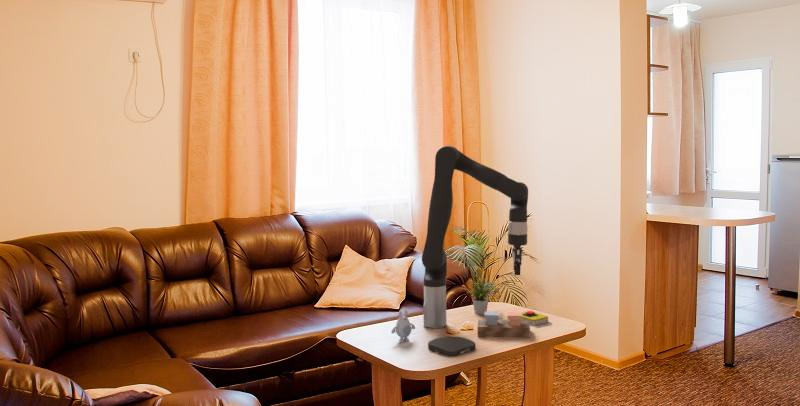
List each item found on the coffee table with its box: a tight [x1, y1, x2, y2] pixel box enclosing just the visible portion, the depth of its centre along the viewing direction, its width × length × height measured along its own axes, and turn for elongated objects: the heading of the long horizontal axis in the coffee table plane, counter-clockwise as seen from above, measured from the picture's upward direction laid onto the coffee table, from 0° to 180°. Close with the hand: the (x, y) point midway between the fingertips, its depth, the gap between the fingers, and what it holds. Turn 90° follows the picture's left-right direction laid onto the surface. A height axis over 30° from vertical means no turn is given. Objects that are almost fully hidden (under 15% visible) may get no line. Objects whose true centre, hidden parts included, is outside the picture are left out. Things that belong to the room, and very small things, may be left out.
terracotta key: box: [507, 311, 523, 326], centre depth 231 cm, size 6×6×4 cm
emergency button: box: [521, 310, 553, 328], centre depth 248 cm, size 9×4×15 cm
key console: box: [477, 319, 531, 339], centre depth 232 cm, size 20×10×4 cm, turn 81°
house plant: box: [467, 276, 496, 315], centre depth 261 cm, size 14×14×16 cm
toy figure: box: [391, 309, 416, 343], centre depth 225 cm, size 11×6×12 cm, turn 121°
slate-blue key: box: [484, 310, 500, 325], centre depth 232 cm, size 6×6×4 cm
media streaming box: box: [427, 336, 477, 358], centre depth 215 cm, size 15×15×3 cm
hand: (516, 272), depth 234 cm, fingers open, 8 cm apart
